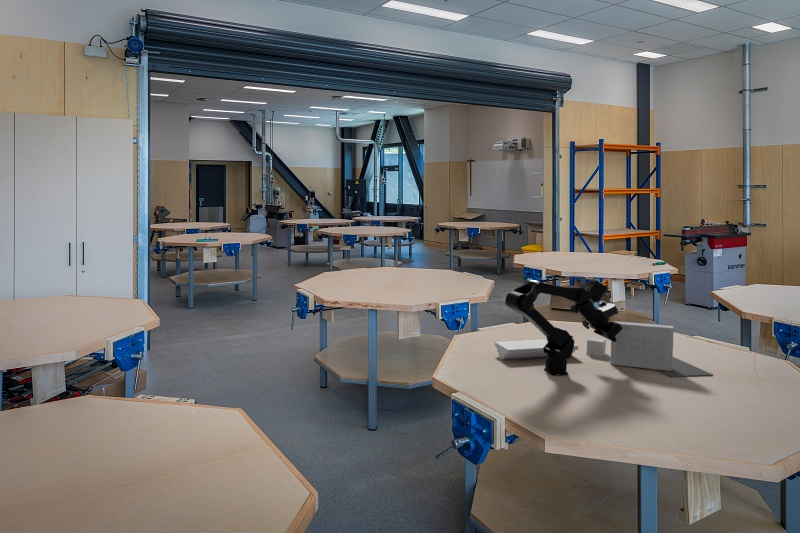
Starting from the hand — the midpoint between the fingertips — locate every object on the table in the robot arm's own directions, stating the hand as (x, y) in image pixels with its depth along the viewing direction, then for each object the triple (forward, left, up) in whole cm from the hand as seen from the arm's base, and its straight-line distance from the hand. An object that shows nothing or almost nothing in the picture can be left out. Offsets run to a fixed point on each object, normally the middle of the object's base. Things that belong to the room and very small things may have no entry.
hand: (615, 341), depth 208 cm
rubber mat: (-23, 0, -10) cm, 25 cm away
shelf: (+23, -17, -11) cm, 30 cm away
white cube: (-3, -18, -10) cm, 21 cm away
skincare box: (-11, 0, -10) cm, 15 cm away
